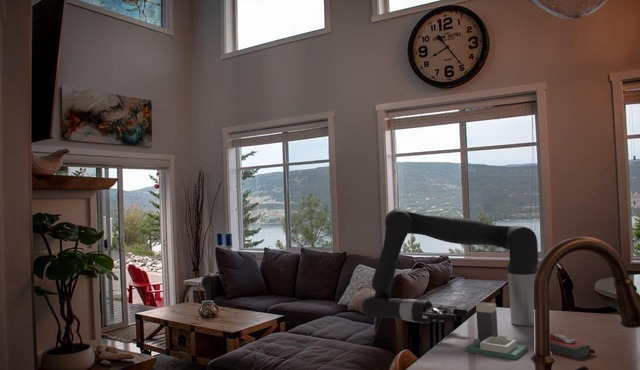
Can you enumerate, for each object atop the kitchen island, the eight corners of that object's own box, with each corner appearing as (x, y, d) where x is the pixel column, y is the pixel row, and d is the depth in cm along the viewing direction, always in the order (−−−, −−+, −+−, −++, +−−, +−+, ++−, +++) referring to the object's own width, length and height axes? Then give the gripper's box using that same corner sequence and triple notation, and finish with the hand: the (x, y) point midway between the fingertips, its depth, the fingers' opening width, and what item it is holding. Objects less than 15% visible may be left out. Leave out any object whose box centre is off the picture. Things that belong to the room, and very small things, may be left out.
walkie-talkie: (601, 355, 133) (538, 339, 151) (600, 339, 133) (537, 324, 151) (580, 361, 129) (518, 343, 147) (578, 344, 129) (517, 328, 147)
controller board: (479, 342, 149) (479, 330, 149) (527, 349, 140) (527, 336, 140) (466, 351, 141) (465, 337, 141) (515, 359, 132) (515, 345, 132)
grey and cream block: (483, 337, 154) (481, 302, 155) (498, 339, 151) (495, 303, 152) (478, 340, 151) (476, 304, 151) (492, 343, 148) (490, 306, 148)
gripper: (404, 303, 162) (450, 308, 151) (425, 296, 173) (470, 300, 162) (406, 326, 161) (452, 332, 151) (426, 317, 172) (471, 323, 162)
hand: (461, 315), depth 157 cm, fingers open, 8 cm apart
